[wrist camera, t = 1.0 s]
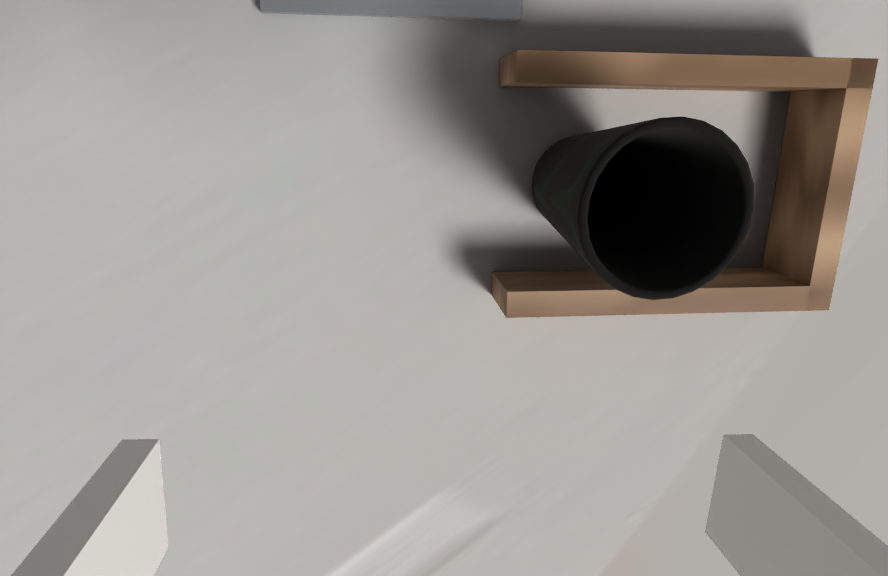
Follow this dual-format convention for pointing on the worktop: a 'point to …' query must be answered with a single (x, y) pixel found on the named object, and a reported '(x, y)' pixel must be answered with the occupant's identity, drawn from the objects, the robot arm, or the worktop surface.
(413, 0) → the coaster
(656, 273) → the cup
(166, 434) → the worktop surface
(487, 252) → the worktop surface
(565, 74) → the wooden frame
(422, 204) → the worktop surface
